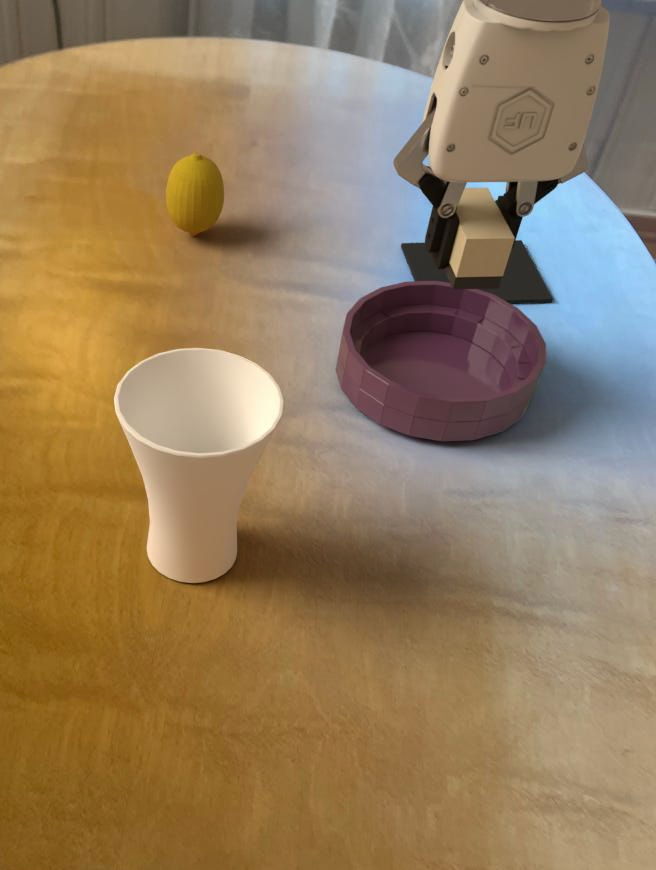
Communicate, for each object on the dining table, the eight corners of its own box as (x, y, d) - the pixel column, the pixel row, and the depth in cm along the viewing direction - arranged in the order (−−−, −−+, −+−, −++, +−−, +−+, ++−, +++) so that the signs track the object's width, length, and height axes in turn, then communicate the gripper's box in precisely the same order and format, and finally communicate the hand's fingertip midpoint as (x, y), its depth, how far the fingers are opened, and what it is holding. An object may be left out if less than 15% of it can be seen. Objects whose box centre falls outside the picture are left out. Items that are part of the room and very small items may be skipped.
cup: (191, 479, 77) (198, 327, 66) (294, 552, 72) (319, 401, 62) (88, 548, 72) (78, 396, 62) (192, 630, 68) (199, 482, 57)
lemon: (233, 235, 98) (238, 153, 92) (195, 257, 96) (198, 174, 90) (191, 214, 101) (194, 133, 94) (153, 234, 98) (153, 153, 92)
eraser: (473, 237, 78) (487, 187, 75) (499, 288, 74) (515, 238, 70) (429, 238, 78) (441, 187, 74) (452, 290, 73) (466, 239, 70)
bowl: (498, 323, 90) (512, 278, 87) (554, 443, 80) (573, 397, 77) (320, 328, 89) (327, 283, 86) (355, 450, 79) (365, 405, 76)
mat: (520, 243, 99) (521, 239, 98) (552, 302, 93) (553, 299, 92) (400, 246, 98) (401, 242, 98) (424, 306, 92) (425, 302, 91)
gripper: (422, 6, 58) (366, 289, 72) (697, 5, 59) (588, 284, 74) (394, -42, 63) (346, 233, 77) (649, -42, 64) (555, 229, 78)
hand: (465, 256), depth 75 cm, fingers closed on eraser, 3 cm apart
